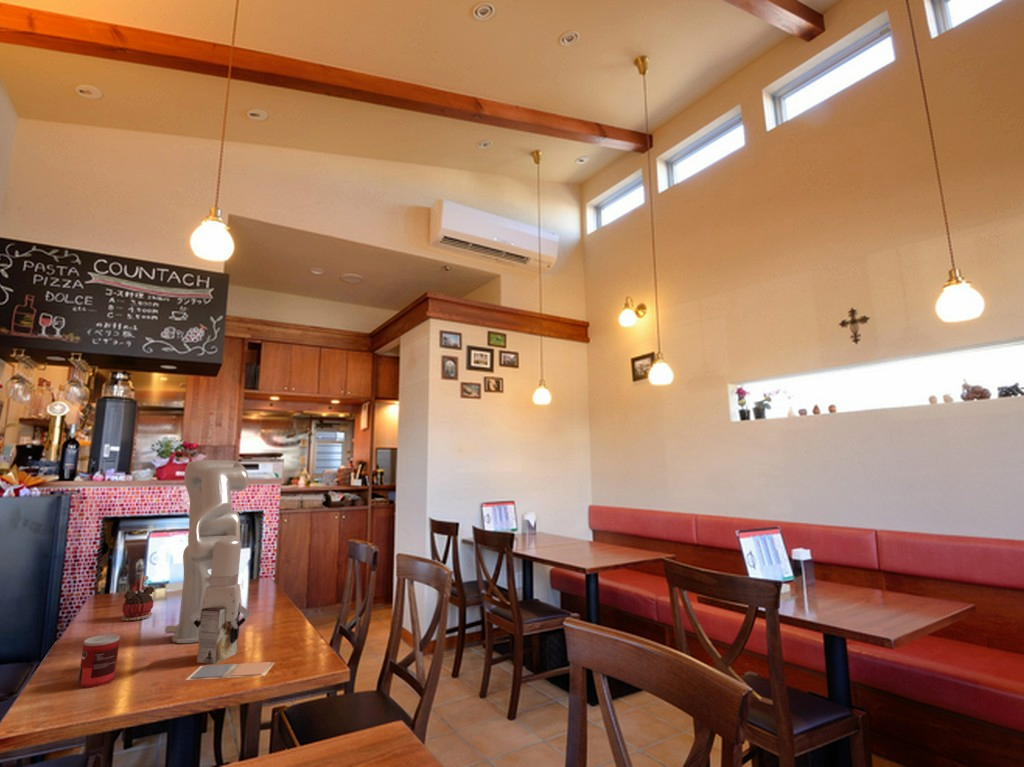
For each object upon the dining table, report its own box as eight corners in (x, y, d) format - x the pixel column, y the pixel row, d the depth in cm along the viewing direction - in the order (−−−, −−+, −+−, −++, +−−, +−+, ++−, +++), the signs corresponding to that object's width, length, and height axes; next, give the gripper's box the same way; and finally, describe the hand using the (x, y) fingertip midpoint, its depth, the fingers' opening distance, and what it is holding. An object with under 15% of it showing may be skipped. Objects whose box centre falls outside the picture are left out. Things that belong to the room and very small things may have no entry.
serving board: (184, 684, 138) (185, 679, 138) (200, 670, 148) (200, 666, 148) (264, 680, 142) (265, 675, 142) (274, 666, 151) (275, 662, 151)
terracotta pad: (230, 676, 141) (230, 675, 141) (241, 664, 149) (241, 663, 149) (261, 675, 142) (261, 673, 142) (270, 663, 151) (271, 661, 151)
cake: (131, 623, 192) (137, 572, 195) (113, 621, 195) (119, 571, 198) (158, 616, 202) (164, 567, 205) (141, 613, 205) (147, 566, 207)
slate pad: (190, 678, 139) (190, 677, 139) (203, 666, 148) (203, 665, 148) (222, 677, 140) (222, 675, 140) (233, 664, 149) (234, 663, 149)
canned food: (90, 676, 143) (96, 634, 145) (121, 676, 144) (126, 633, 145) (69, 688, 135) (76, 643, 137) (102, 687, 136) (108, 642, 138)
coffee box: (218, 655, 160) (223, 600, 162) (236, 657, 158) (241, 601, 161) (195, 666, 151) (201, 608, 153) (214, 668, 149) (220, 609, 152)
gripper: (187, 584, 153) (181, 648, 150) (250, 582, 156) (245, 645, 153) (198, 579, 160) (192, 639, 158) (258, 577, 163) (253, 637, 160)
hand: (218, 642), depth 155 cm, fingers closed on coffee box, 7 cm apart
